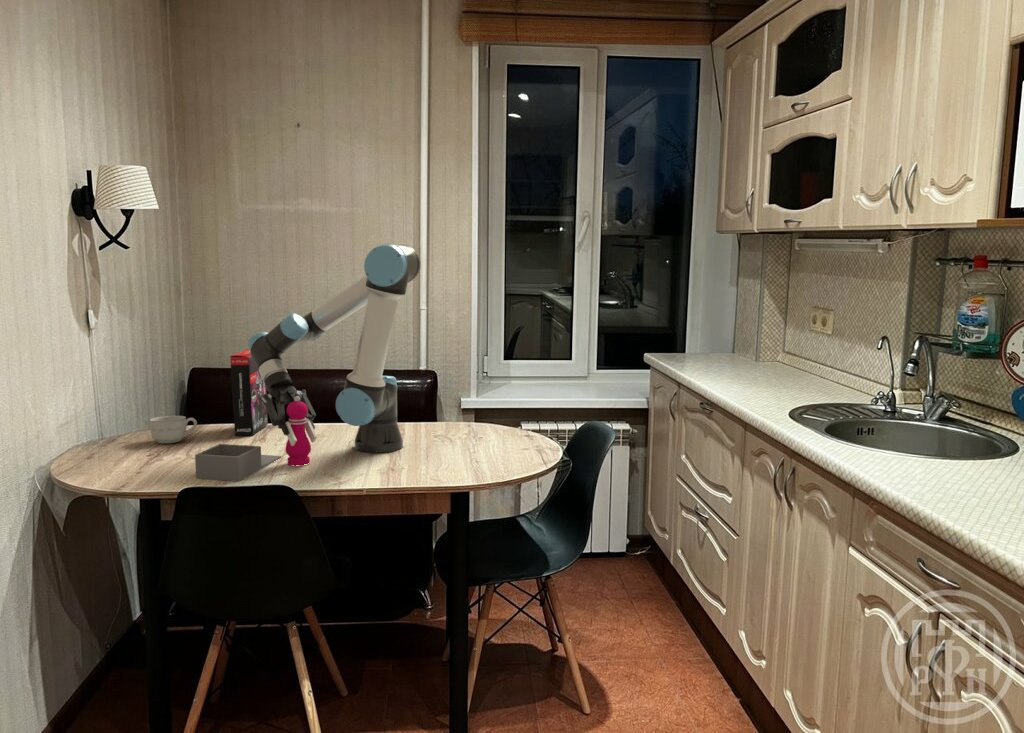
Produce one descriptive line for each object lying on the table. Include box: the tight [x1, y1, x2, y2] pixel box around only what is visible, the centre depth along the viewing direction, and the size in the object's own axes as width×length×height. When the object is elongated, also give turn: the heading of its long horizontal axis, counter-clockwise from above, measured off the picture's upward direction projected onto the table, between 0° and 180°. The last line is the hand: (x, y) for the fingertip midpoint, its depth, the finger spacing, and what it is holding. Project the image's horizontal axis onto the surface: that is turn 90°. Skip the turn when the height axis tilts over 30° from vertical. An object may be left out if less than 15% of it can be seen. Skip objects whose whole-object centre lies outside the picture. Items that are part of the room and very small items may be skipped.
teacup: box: [149, 415, 198, 444], centre depth 260 cm, size 14×11×8 cm
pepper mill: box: [285, 395, 312, 467], centre depth 235 cm, size 7×7×20 cm
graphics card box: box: [230, 348, 269, 437], centre depth 275 cm, size 17×7×27 cm, turn 0°
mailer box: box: [194, 443, 282, 482], centre depth 230 cm, size 13×25×7 cm, turn 170°
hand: (304, 441), depth 232 cm, fingers open, 6 cm apart
